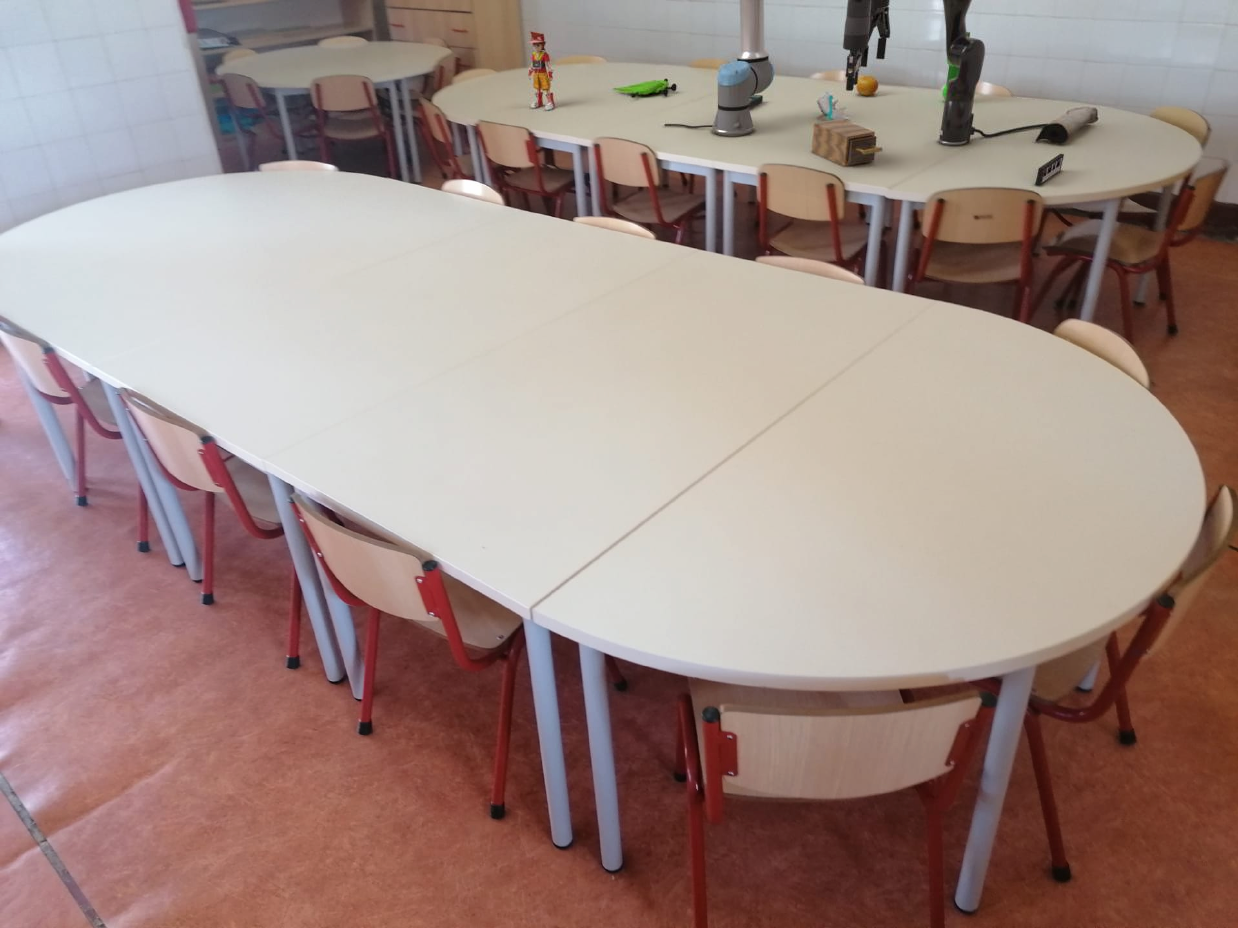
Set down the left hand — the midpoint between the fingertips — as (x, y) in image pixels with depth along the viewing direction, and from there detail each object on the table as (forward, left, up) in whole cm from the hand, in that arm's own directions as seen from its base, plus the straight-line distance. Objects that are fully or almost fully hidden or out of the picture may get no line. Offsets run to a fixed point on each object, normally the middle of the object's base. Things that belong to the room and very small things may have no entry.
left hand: (871, 63), depth 307 cm
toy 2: (-113, +38, -25) cm, 122 cm away
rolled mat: (+63, +27, -25) cm, 73 cm away
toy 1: (-140, 0, -25) cm, 142 cm away
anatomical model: (-20, +21, -25) cm, 38 cm away
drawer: (+4, -28, -24) cm, 37 cm away
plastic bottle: (+17, +60, -25) cm, 67 cm away
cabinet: (0, -24, -25) cm, 35 cm away
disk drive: (-60, +29, -25) cm, 71 cm away
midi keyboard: (+66, -25, -25) cm, 74 cm away
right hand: (+3, -29, -2) cm, 29 cm away
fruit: (-19, +61, -25) cm, 69 cm away
